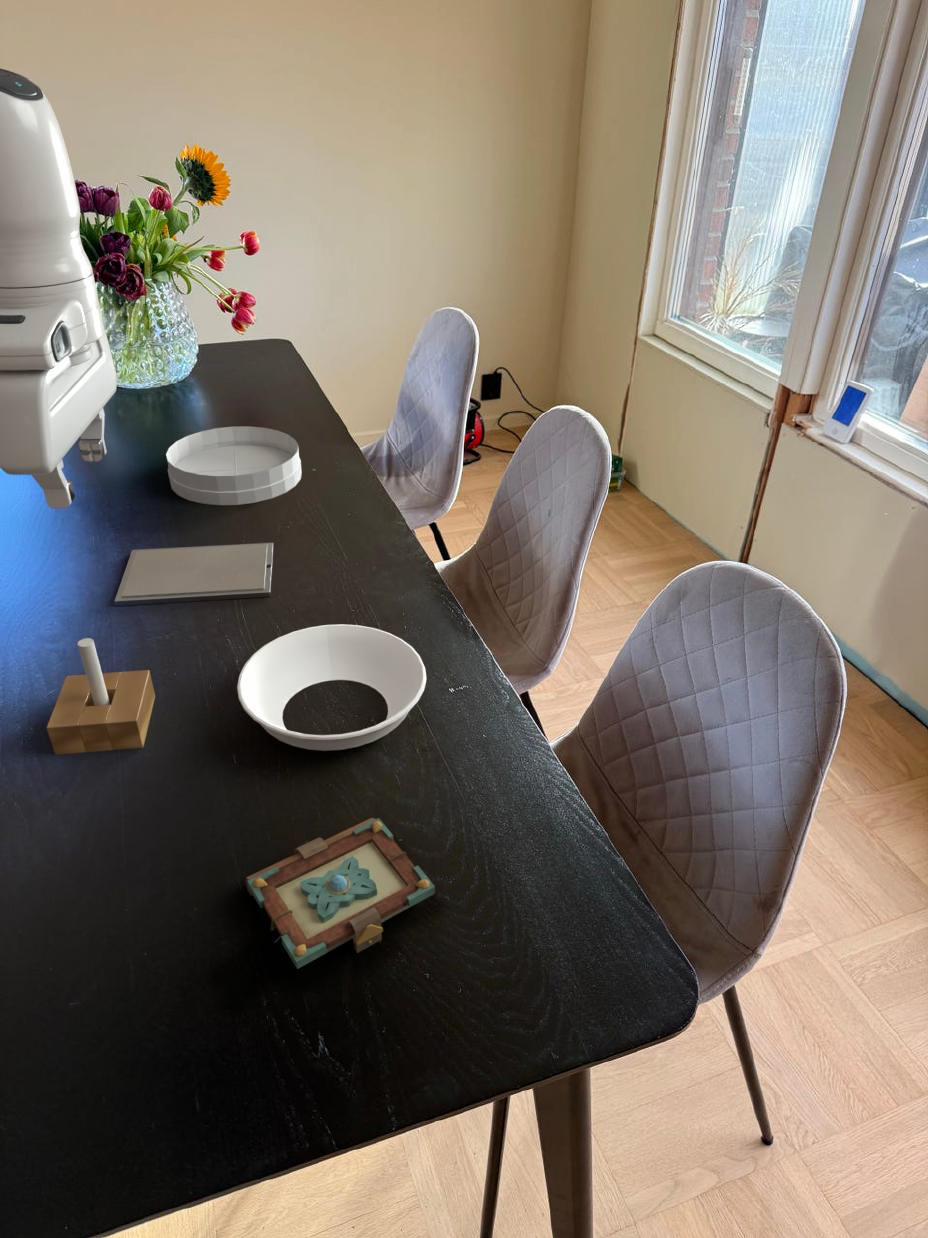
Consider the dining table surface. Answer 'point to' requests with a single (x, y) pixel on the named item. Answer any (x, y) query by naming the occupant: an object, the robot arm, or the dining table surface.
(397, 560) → the dining table surface
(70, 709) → the holder
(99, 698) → the stylus
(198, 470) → the dish
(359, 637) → the white flared ring
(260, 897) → the decorative book
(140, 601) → the tablet
